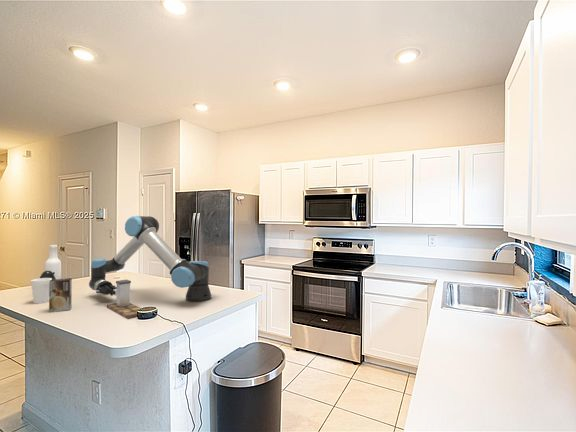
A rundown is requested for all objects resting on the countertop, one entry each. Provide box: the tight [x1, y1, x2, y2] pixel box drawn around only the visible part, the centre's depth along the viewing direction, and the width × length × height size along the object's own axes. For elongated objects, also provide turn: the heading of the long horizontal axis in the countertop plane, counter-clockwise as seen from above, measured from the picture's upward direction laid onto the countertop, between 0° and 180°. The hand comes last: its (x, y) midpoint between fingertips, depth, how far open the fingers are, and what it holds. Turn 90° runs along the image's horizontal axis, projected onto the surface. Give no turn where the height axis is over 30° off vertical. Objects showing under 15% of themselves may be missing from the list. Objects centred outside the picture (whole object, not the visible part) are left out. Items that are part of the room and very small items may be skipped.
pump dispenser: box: [39, 270, 56, 279], centre depth 192 cm, size 10×10×15 cm
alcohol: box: [44, 244, 62, 279], centre depth 206 cm, size 9×9×30 cm
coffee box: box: [48, 277, 73, 313], centre depth 161 cm, size 9×6×16 cm
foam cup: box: [30, 277, 52, 305], centre depth 175 cm, size 10×9×13 cm
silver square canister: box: [115, 279, 132, 307], centre depth 165 cm, size 6×6×13 cm
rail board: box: [106, 302, 143, 320], centre depth 161 cm, size 28×10×2 cm, turn 49°
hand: (119, 293), depth 166 cm, fingers closed
